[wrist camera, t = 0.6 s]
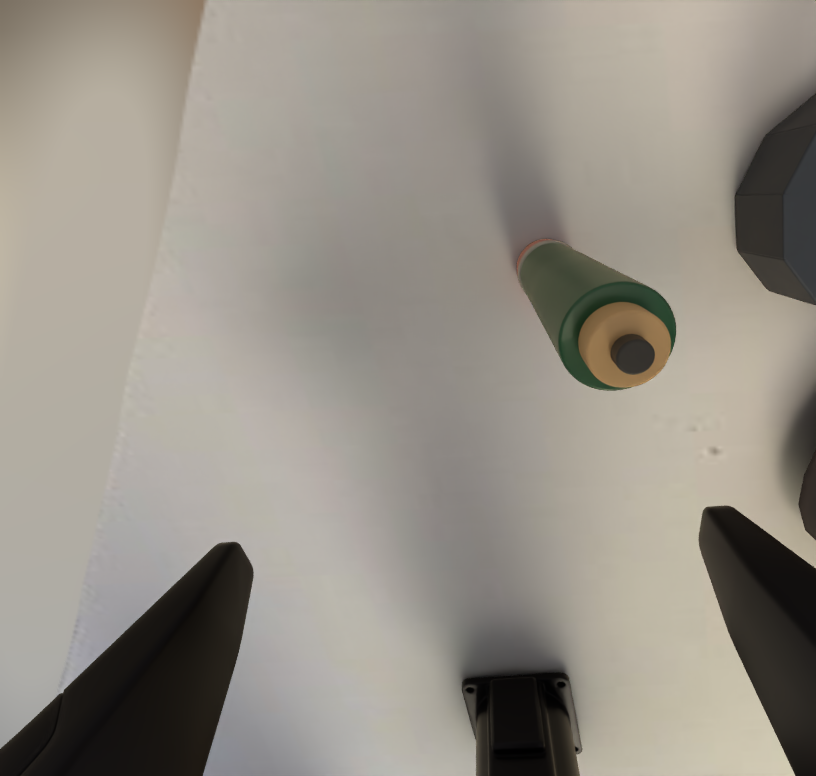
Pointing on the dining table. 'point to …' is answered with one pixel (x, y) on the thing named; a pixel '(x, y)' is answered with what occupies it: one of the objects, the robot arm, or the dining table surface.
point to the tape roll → (782, 208)
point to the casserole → (809, 498)
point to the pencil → (597, 316)
